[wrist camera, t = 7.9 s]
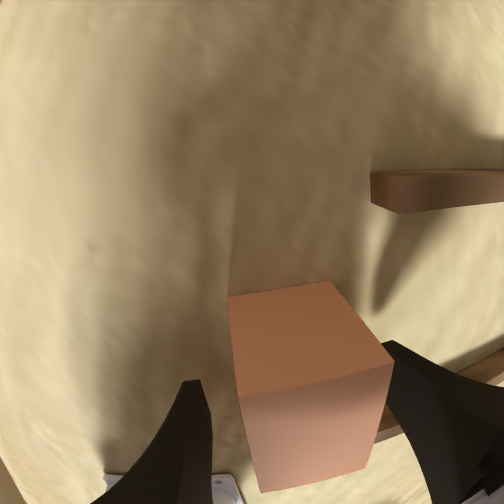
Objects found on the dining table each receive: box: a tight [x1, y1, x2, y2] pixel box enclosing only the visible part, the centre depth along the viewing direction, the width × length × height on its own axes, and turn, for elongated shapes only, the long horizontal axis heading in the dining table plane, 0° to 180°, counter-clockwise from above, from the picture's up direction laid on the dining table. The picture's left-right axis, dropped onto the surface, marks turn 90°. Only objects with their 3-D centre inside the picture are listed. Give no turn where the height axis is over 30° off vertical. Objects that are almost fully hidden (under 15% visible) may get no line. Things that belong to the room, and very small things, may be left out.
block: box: [227, 280, 394, 493], centre depth 11 cm, size 4×6×6 cm
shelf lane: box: [370, 169, 504, 444], centre depth 13 cm, size 16×14×2 cm
